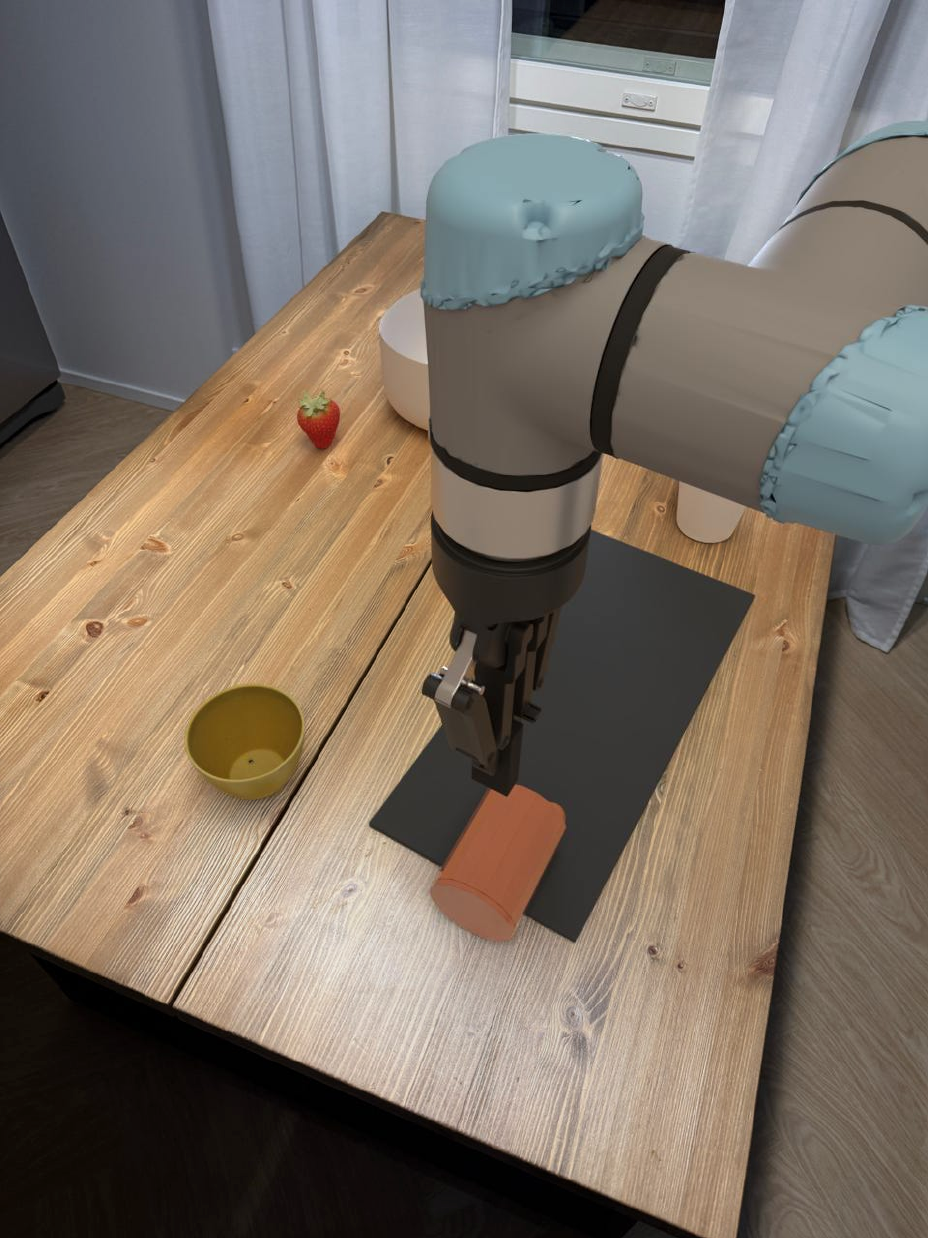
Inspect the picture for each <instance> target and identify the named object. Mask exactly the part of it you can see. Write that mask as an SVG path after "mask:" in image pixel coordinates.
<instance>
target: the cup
mask: <svg viewBox="0 0 928 1238" xmlns="http://www.w3.org/2000/svg"><path fill="white" fill-rule="evenodd" d="M677 494H678V496H677V509H676V525H677V527H678V528H679V530H680V532H681V533H682V534H684V535H685V536H686V537H688V538H690V539H692V540H694V541H696V542H700V543H706V544H716V543H720V542H724V541H726V540H728V539H729V538H730V537H731V536H732V535H733V533H734V531H735V530H736V528H737V526H738V524H739V522H740V521H741V518H742V517H743V515H744V513H745V511H746V510H747V508H748V507H746V506H744V505H741V504H738V503H736V502H733V501H731V500H728V499H725V498H723V497H720V496H717V495H715V494H712V493H709V492H707V491H704V490H701V489H699V488H696V487H693V486H691V485H688V484H686V483H683V482H680V481H678V493H677Z"/></svg>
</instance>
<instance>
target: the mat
mask: <svg viewBox="0 0 928 1238" xmlns="http://www.w3.org/2000/svg"><path fill="white" fill-rule="evenodd" d="M755 597H756V594H754V593H752V592H749V591H746V590H744V589H742V588H739V587H737V586H734V585H732V584H728V583H726V582H724V581H721V580H719V579H717V578H714V577H711V576H709V575H707V574H704V573H702V572H699V571H696V570H694V569H691V568H689V567H686V566H685V565H681V564H680V563H676V562H674V561H672V560H669V559H667V558H664V557H662V556H659V555H656V554H654V553H651V552H648V551H646V550H645V549H644V550H643V549H642V548H639V547H637V546H634V545H631V544H629V543H627V542H624V541H622V540H619V539H616V538H614V537H611V536H609V535H606V534H604V533H602V532H599V531H597V530H594V529H591V535H590V541H589V548H588V554H587V561H586V567H585V573H584V578H583V581H582V583H581V585H580V587H579V589H578V591H577V592H576V594H575V595H574V596H573V597H572V598H571V599H570V601H568V602H567V603H566V604H565V605H564V606H562V607H561V612H560V616H559V620H558V624H557V628H556V633H555V637H554V641H553V645H552V649H551V653H550V658H549V662H548V666H547V670H546V674H545V678H544V680H545V681H544V684H543V686H542V687H541V688H540V689H539V690H538V691H537V692H536V691H534V690H532V698H531V703H532V704H534V705H537V706H539V707H541V708H542V710H541V713H540V715H539V718H538V719H537V721H536V722H535V723H534V724H532V723H530V722H528V721H526V720H524V719H522V720H521V723H523V724H524V725H523V735H522V745H521V755H520V765H519V775H518V781H517V783H516V785H520V786H523V787H525V788H527V789H529V790H532V791H534V792H536V793H538V794H539V795H541V796H542V797H543V798H545V799H546V800H547V801H549V802H554V803H557V804H558V805H560V806H561V807H562V809H563V810H564V812H565V815H566V822H565V824H566V830H565V833H564V836H563V838H562V840H561V842H560V844H559V846H558V848H557V850H556V852H555V854H554V856H553V858H552V860H551V862H550V864H549V866H548V868H547V870H546V872H545V874H544V876H543V878H542V880H541V882H540V884H539V886H538V888H537V890H536V892H535V894H534V895H533V897H532V899H531V901H530V903H529V905H528V907H527V909H526V911H525V913H524V915H523V916H526V917H528V918H530V919H531V920H532V921H535V922H536V923H538V924H540V925H542V926H543V927H546V929H549V930H550V931H552V932H554V933H555V934H557V935H559V936H561V937H562V938H564V939H566V940H568V941H569V942H572V943H573V944H576V942H577V941H578V938H579V936H580V935H581V933H582V931H583V929H584V927H585V925H586V923H587V921H588V919H589V918H590V916H591V913H592V911H593V910H594V908H595V906H596V904H597V902H598V900H599V899H600V896H601V894H602V893H603V891H604V888H605V887H606V885H607V883H608V881H609V879H610V877H611V875H612V873H613V871H614V869H615V867H616V865H617V864H618V862H619V860H620V858H621V855H622V854H623V852H624V850H625V848H626V846H627V844H628V843H629V841H630V839H631V836H632V835H633V833H634V831H635V829H636V827H637V826H638V823H639V821H640V819H641V817H642V815H643V813H644V812H645V810H646V808H647V806H648V803H649V802H650V800H651V798H652V796H653V795H654V792H655V790H656V788H657V786H658V785H659V783H660V781H661V779H662V777H663V775H664V773H665V771H666V769H667V768H668V766H669V763H670V762H671V759H672V758H673V756H674V753H675V752H676V750H677V748H678V746H679V744H680V743H681V740H682V738H683V737H684V734H685V732H686V731H687V729H688V727H689V725H690V723H691V721H692V719H693V717H694V715H695V714H696V712H697V710H698V707H699V706H700V703H701V702H702V700H703V698H704V696H705V694H706V692H707V690H708V688H709V687H710V684H711V683H712V681H713V679H714V677H715V675H716V673H717V671H718V669H719V667H720V665H721V663H722V661H723V660H724V658H725V656H726V654H727V652H728V650H729V648H730V645H731V644H732V642H733V640H734V638H735V637H736V635H737V632H738V631H739V629H740V627H741V625H742V623H743V621H744V619H745V617H746V616H747V613H748V611H749V610H750V608H751V606H752V604H753V602H754V600H755ZM471 776H472V759H471V758H469V757H467V756H465V755H463V754H461V753H459V752H457V751H455V750H453V749H451V748H450V746H449V743H448V740H447V737H446V734H445V731H444V728H443V725H442V724H441V725H440V726H439V728H438V729H437V730H436V731H435V733H434V734H433V736H432V737H431V738H430V740H429V741H428V743H427V744H426V745H425V747H424V748H423V750H422V751H421V752H420V753H419V754H418V756H417V758H416V759H415V760H414V761H413V763H412V764H411V766H410V767H409V768H408V769H407V770H406V772H405V774H404V775H403V776H402V778H401V779H400V780H399V781H398V782H397V784H396V785H395V787H394V789H392V791H391V793H390V794H389V795H388V796H387V798H386V799H385V800H384V802H383V803H382V804H381V806H380V807H379V809H377V812H376V813H375V814H374V815H373V816H372V818H371V819H370V821H368V826H369V827H370V828H372V829H374V830H376V831H377V832H379V833H381V834H382V835H384V836H386V837H388V838H389V839H391V840H393V841H395V842H397V843H398V844H400V845H402V846H403V847H405V848H407V849H409V850H411V851H412V852H414V853H416V854H417V855H419V856H421V857H423V858H424V859H426V860H428V861H430V862H431V863H432V864H435V865H437V866H438V867H440V868H442V866H443V864H444V863H445V861H446V859H447V857H448V856H449V854H450V852H451V851H452V849H453V847H454V846H455V844H456V842H457V840H458V839H459V837H460V835H461V834H462V832H463V830H464V829H465V827H466V825H467V823H468V822H469V820H470V818H471V817H472V815H473V813H474V812H475V810H476V808H477V806H478V805H479V803H480V801H481V800H482V798H483V796H484V795H485V793H486V791H487V790H488V787H486V786H485V785H483V784H481V783H479V782H477V781H475V780H473V779H471Z"/></svg>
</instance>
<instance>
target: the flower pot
mask: <svg viewBox="0 0 928 1238" xmlns="http://www.w3.org/2000/svg"><path fill="white" fill-rule="evenodd" d="M305 734H306V720H305V715H304V712H303V710H302V708H301V706H300V705H299V703H298V701H297V700H296V699H295V698H294V697H293V696H292V695H290V694H289V693H288V692H286V691H285V690H283V689H280V688H279V687H277V686H274V685H271V684H265V683H244V684H243V683H242V684H238V685H233V686H230V687H227V688H225V689H222V690H221V691H219V692H217V693H215V694H213V695H212V696H210V697H209V698H207V699H206V700H205V701H204V702H203V703H201V704H200V705H199V706H198V707H197V708H196V709H195V711H194V712H193V714H192V715H191V716H190V718H189V720H188V723H187V725H186V728H185V731H184V737H183V739H184V741H183V743H184V744H183V745H184V749H185V753H186V755H187V758H188V759H189V762H190V763H191V764H192V765H193V767H194V769H195V770H196V771H197V772H198V773H199V774H200V776H202V778H204V779H205V781H207V782H208V783H209V784H210V785H212V786H213V787H214V788H216V789H218V790H219V791H221V792H222V793H225V794H227V795H229V796H231V797H235V798H238V799H242V800H249V801H250V800H252V801H253V800H254V801H255V800H262V799H265V798H268V797H271V796H272V795H274V794H276V793H277V792H278V791H280V790H281V789H282V788H283V787H284V786H285V785H286V784H287V783H288V782H289V780H290V778H291V777H292V775H293V774H294V772H295V770H296V768H297V767H298V765H299V761H300V759H301V756H302V753H303V749H304V743H305V736H306V735H305ZM251 761H252V763H251Z"/></svg>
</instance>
